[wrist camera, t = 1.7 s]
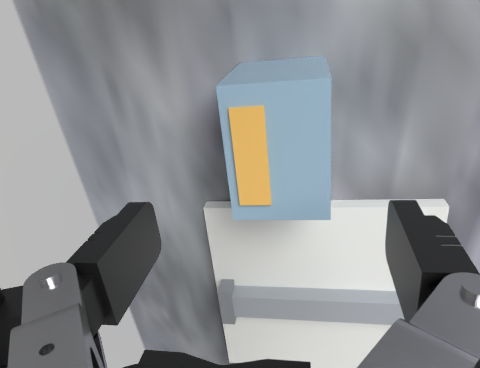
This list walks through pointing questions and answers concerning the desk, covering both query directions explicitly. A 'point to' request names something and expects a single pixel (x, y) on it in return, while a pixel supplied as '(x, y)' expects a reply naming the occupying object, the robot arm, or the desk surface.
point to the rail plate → (306, 282)
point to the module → (278, 138)
